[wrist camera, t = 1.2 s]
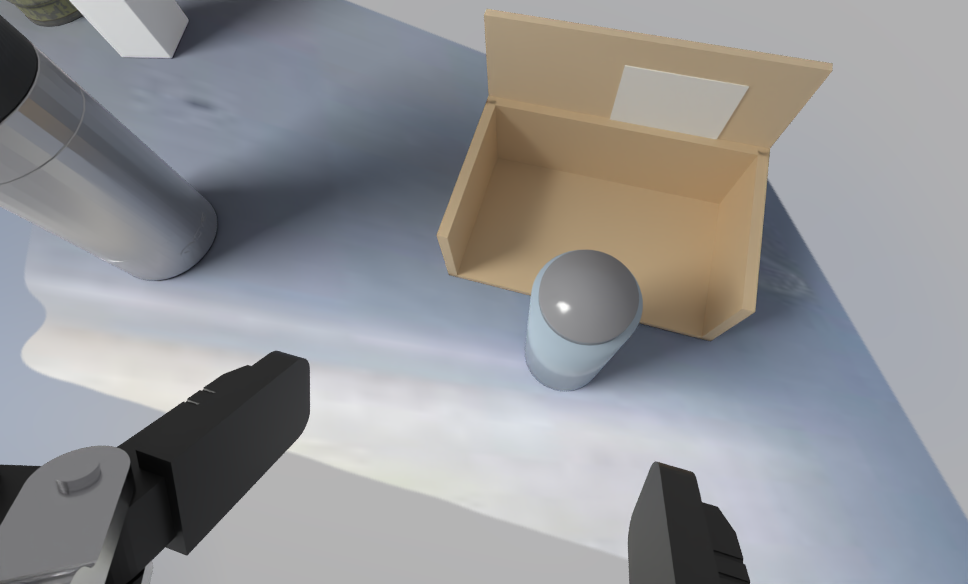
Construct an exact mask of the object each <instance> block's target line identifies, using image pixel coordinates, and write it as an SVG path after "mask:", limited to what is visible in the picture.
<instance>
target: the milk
mask: <svg viewBox="0 0 968 584" xmlns="http://www.w3.org/2000/svg"><path fill="white" fill-rule="evenodd" d="M69 1H70V2H71V3H72V4H73V5H74V6H75V7H76V8H77V9H78V10H79V11H80V13H81V14H82V15H83V16H84V17H85V18H86V19H87V20H88V21H89V22H90V23H91V24H92V25H93V26H94V27H95V29H96V30H97V31H98V32H99V33H100V34H101V35H102V36H103V37H104V38H105V39H106V40H107V41H108V42H109V44H110V45H111V46H112V47H113V48H114V49H115V50H116V51H117V52H118V53H119V54H120V55H121V56H122V57H133V58H172V57H173V55H174V53H175V50H176V48H177V46H178V44H179V41H180V39H181V37H182V35H183V33H184V30H185V28H186V26H187V24H188V21H189V20H188V18H187V17H186V15H185V14H184V12H183V11H182V10H181V8H180V7H179V5H178V4H177V3H176V1H175V0H69Z"/></svg>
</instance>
